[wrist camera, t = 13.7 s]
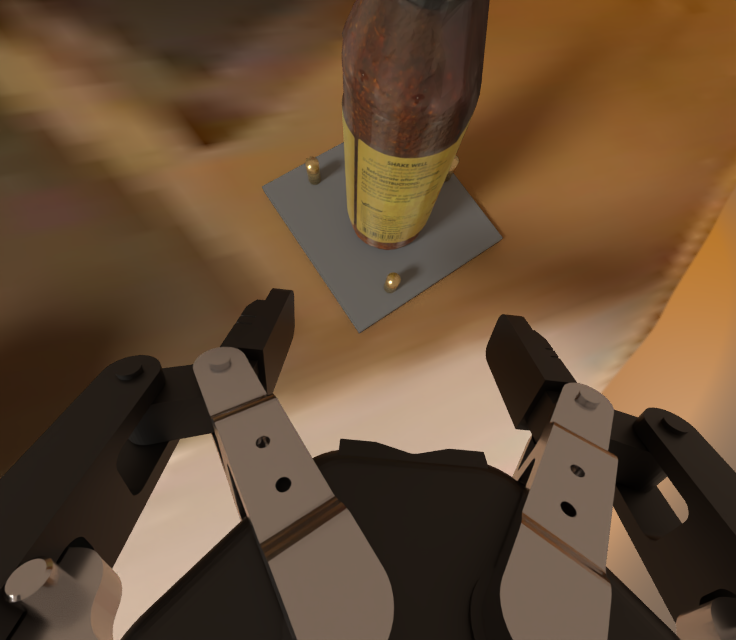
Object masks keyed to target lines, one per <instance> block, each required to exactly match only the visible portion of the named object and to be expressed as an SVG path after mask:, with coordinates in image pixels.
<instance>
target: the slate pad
mask: <svg viewBox="0 0 736 640" xmlns="http://www.w3.org/2000/svg"><path fill="white" fill-rule="evenodd" d="M316 158H317V159H318V161H319V168H320V176H321V181H320V183H319V184H317V185H312V184H311V183H310V182H309V180H308V175H307V170H306V165H305V163H304V164H303V165H301V166H299V167H297V168H295V169H293V170H292V171H290V172H288V173H286V174H284V175H282V176H281V177H279V178H277V179H275V180H273V181H271V182H270V183H268V184H266V185H264V186H262V188H263V190H264V192H265V194H266V195H267V197H268V198H269V200H270V201H271V203H272V204H273V206H274V207H275V209H276V210H277V212H278V213H279V214H280V216H281V217H282V219H283V220H284V222H285V223H286V225H287V226H288V228H289V229H290V231H291V232H292V234H293V235H294V237H295V238H296V240H297V241H298V243H299V244H300V246H301V247H302V249H303V250H304V252H305V253H306V255H307V256H308V258H309V259H310V261H311V262H312V264H313V265H314V267H315V268H316V270H317V271H318V273H319V274H320V276H321V277H322V279H323V280H324V282H325V283H326V284H327V286H328V287H329V289H330V290H331V292H332V293H333V295H334V296H335V298H336V299H337V301H338V302H339V304H340V305H341V307H342V308H343V310H344V311H345V313H346V314H347V316H348V317H349V319H350V320H351V322H352V323H353V325H354V326H355V328H356V329H357V331H358V332H359V333H361V332H362V331H364V330H365V329H367V328H368V327H370V326H371V325H373V324H374V323H376V322H377V321H379V320H380V319H382V318H384V317H385V316H387V315H388V314H390V313H391V312H393V311H394V310H396V309H397V308H399V307H400V306H402V305H403V304H405V303H406V302H408V301H409V300H411V299H412V298H414V297H415V296H417V295H418V294H420V293H421V292H423V291H424V290H426V289H428V288H429V287H431V286H432V285H434V284H435V283H437V282H438V281H440V280H441V279H443V278H444V277H446V276H447V275H449V274H450V273H452V272H453V271H455V270H456V269H458V268H459V267H461V266H462V265H464V264H465V263H467V262H469V261H470V260H472V259H473V258H475V257H476V256H478V255H479V254H481V253H482V252H484V251H485V250H487V249H488V248H490V247H491V246H493V245H494V244H496V243H497V242H499V241H500V240H501V239H502V238H503V237H502V236H501V235H500V234H499V232H498V231H497V230H496V228H495V227H494V226H493V224H492V223H491V222H490V220H489V219H488V218H487V217H486V215H485V214H484V213H483V211H482V210H481V209H480V207H479V206H478V205H477V203H476V202H475V201H474V200H473V198H472V197H471V196H470V194H469V193H468V192H467V190H466V189H465V188H464V186H463V185H462V184H461V183H460V181H459V180H458V179H457V177H456V176H455V175H454V173H453V174H452V176H451V178H450V180H449V181H447V182H444V183H443V185H442V188H441V190H440V192H439V195H438V197H437V200H436V202H435V204H434V207H433V209H432V212H431V214H430V216H429V218H428V220H427V222H426V224H425V226H424V227H423V228H422V230H421V231H420V232H419V234H418V236H417V237H416V238H415V239H414V240H413V241H412V242H411V243H409V244H407V245H406V246H404V247H401V248H397V249H393V250H383V249H379V248H376V247H373V246H370V245H368V244H366V243H365V242H363V241H362V240H361V239H360V238H359V237H358V236H357V234H356V233H355V230H354V229H353V227H352V224H351V221H350V218H349V215H348V210H347V195H346V176H345V155H344V142H343V143H341V144H339V145H338V146H336V147H334V148H332V149H330V150H328V151H327V152H325V153H323V154H321V155H319V156H317V157H316ZM393 272H394V273H397V274H399V276H400V278H401V281H400V283H399V285H398V287H397V289H396V291H395V292H393V293H387V292H386V291H385V290H384V283H385V281H386V278H387V276H388V275H389V274H390V273H393Z"/></svg>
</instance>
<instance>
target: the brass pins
mask: <svg viewBox="0 0 736 640" xmlns="http://www.w3.org/2000/svg"><path fill="white" fill-rule="evenodd" d="M458 163H459V158H458V157H457V156H456V155H455V157H454V160H453V162H452V165H451V167H450V169H449V172H448V174H447V176H446V179H445V181H444V182H447V181H449V180H450V178H451V176H452V174H453V172H454V170H455V168H456V166H457V165H458ZM305 165H306V170H307V175H308V180H309V182H310V183H311V184H312V185H317V184H319V183H320V181H321V176H320V168H319V161H318V159H317V158H315V157H309V158H307V159H306V161H305ZM400 281H401V278H400V276H399V274H397V273H394V272H393V273H390V274H389V275H388V276H387V278H386V281H385V283H384V290H385V291H386V292H387V293H393V292H395V291H396V289H397V287H398V285H399V283H400Z"/></svg>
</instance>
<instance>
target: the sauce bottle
mask: <svg viewBox="0 0 736 640" xmlns="http://www.w3.org/2000/svg"><path fill="white" fill-rule="evenodd" d="M488 10H489V0H356V2H355V3H354V5H353V7H352V10H351V12H350V14H349V16H348V19H347V21H346V23H345V26H344V29H343V32H342V35H343V47H342V67H343V90H344V93H343V98H342V117H343V135H344V155H345V176H346V195H347V210H348V215H349V218H350V221H351V224H352V227H353V229H354V230H355V233H356V234H357V236H358V237H359V238H360V239H361V240H362V241H363V242H365V243H366V244H368V245H370V246H373V247H376V248H379V249H383V250H393V249H397V248H401V247H404V246H406V245H407V244H409V243H411V242H412V241H413V240H414V239H415V238H416V237H417V236H418V234H419V232H420V231H421V230H422V228H423V227H424V226H425V224H426V222H427V220H428V218H429V216H430V214H431V212H432V209H433V207H434V204H435V202H436V200H437V197H438V195H439V192H440V190H441V188H442V185H443V183H444V181H445V179H446V176H447V174H448V172H449V169H450V167H451V165H452V162H453V160H454V157H455V155H456V153H457V151H458V148H459V146H460V143H461V141H462V139H463V136H464V134H465V132H466V130H467V128H468V125H469V122H470V120H471V117H472V115H473V112H474V110H475V107H476V105H477V101H478V98H479V95H480V89H481V82H482V71H483V61H484V50H485V40H486V30H487V21H488Z"/></svg>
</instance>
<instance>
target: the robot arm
mask: <svg viewBox="0 0 736 640" xmlns="http://www.w3.org/2000/svg"><path fill="white" fill-rule="evenodd" d="M294 327H295V319H294V293H293V291H292V290H285V289H276V288H273V289H272V290H271V291H270V293H269V295H268V296H267V298H266V300H256V301H254V302H252V303H251V304H249V305H248V306H246V308H245V310H244V311H243V313H242V314H241V316H240V317H239V319H238V320H237V322H236V324H235V325H234V326H233V328H232V329H231V331H230V332H229V334H228V335H227V337H226V338H225V340H224V341H223V343H222V344H221V346H220V347H219V348H214V349H211V350H209V351H206V352H205V353H203V354H201V355H200V356H199V357H198V358H197V359H196V360H195V362H194V364H192V365H186V366H178V367H170V368H162V367H161V364H160V362H159V361H158V360H157V359H156V358H154V357H151V356H146V355H138V356H131V357H127V358H124V359H121V360H118V361H116V362H114V363H112V364H111V365H109V366H108V367H106V368H105V369H104V370H103V371H102V372H101V373H100V374H99V375H98V376H97V377H96V378H95V379H94V380H93V381H92V382H91V384H90V385H89V386H88V387H87V388H86V389H85V390H84V391H83V392H82V393H81V394H80V395H79V396H78V397H77V398H76V399H75V400H74V402H73V403H72V404H71V405H70V406H69V407H68V408H67V409H66V410H65V411H64V412H63V413H62V414H61V415H60V416H59V417H58V418H57V420H56V421H55V422H54V423H53V424H52V425H51V426H50V427H49V428H48V429H47V430H46V431H45V432H44V433H43V434H42V435H41V436H40V438H39V439H38V440H37V441H36V442H35V443H34V444H33V445H32V446H31V447H30V448H29V449H28V450H27V451H26V452H25V453H24V454H23V456H22V457H21V458H20V459H19V460H18V461H17V462H16V463H15V464H14V465H13V466H12V467H11V468H10V469H9V470H8V471H7V472H6V474H5V475H4V476H3V477H2V478H1V479H0V640H113V624H114V619H115V616H116V613H117V610H118V607H119V604H120V601H121V596H122V584H121V580H120V578H119V576H118V575H117V574H116V573H115V572H114V570H113V569H112V568H113V566H114V564H115V562H116V560H117V558H118V556H119V555H120V553H121V551H122V549H123V547H124V545H125V543H126V541H127V539H128V537H129V535H130V534H131V532H132V530H133V528H134V526H135V524H136V522H137V520H138V518H139V516H140V514H141V512H142V511H143V509H144V507H145V505H146V503H147V501H148V499H149V497H150V495H151V493H152V491H153V490H154V488H155V486H156V484H157V482H158V480H159V478H160V476H161V474H162V472H163V470H164V469H165V467H166V465H167V463H168V461H169V459H170V457H171V455H172V453H173V451H174V449H175V447H176V446H177V444H178V442H179V440H180V439H182V438H188V437H193V436H198V435H204V434H209V433H211V435H212V438H213V441H214V443H215V446H216V449H217V452H218V455H219V458H220V460H221V463H222V466H223V469H224V472H225V475H226V477H227V480H228V483H229V486H230V490H231V493H232V496H233V499H234V502H235V505H236V508H237V511H238V514H239V517H240V520H241V522H240V523H239V524H238V525H237V526H236V527H234V528H233V529H232V530H231V531H230V532H229V533H228V534H227V535H226V536H225V537H224V538H223V539H222V540H221V541H220V542H219V543H218V544H216V545H215V546H214V547H213V548H212V549H211V550H210V551H209V552H208V553H207V554H206V555H205V556H204V557H203V558H202V559H201V560H200V561H198V562H197V563H196V564H195V565H194V566H193V567H192V568H191V569H190V570H189V571H188V572H187V573H186V574H185V575H184V576H183V577H182V578H180V579H179V580H178V581H177V582H176V583H175V584H174V585H173V586H172V587H171V588H170V589H169V590H168V591H167V592H166V593H165V594H164V595H163V596H161V597H160V598H159V599H158V600H157V601H156V602H155V603H154V604H153V605H152V606H151V607H150V608H149V609H148V610H147V611H146V612H145V613H144V614H143V615H141V616H140V617H139V619H138V620H137V621H136V622H135V623H134V624H133V625H132V626H131V627H130V629H129V630H128V631H127V632H126V633H125V635H124V636H123V637H122V638H121V640H736V473H735V472H734V470H733V469H732V468H731V467H730V466H729V465H728V464H727V463H726V462H725V461H724V459H723V458H722V457H721V456H720V455H719V454H718V453H717V452H716V451H715V450H714V449H713V447H712V446H711V445H710V444H709V443H708V442H707V441H706V440H705V439H704V438H703V437H702V435H701V434H700V433H699V432H698V431H697V430H696V429H695V428H694V427H693V426H691V425H690V424H689V423H688V422H686V421H685V420H683V419H682V418H680V417H679V416H677V415H675V414H673V413H671V412H668V411H666V410H663V409H659V408H647V409H646V410H645V411H644V412H643V413H642V414H641V415H640V416H639V417H635V416H632V415H629V414H626V413H622V412H620V411H616V410H614V409H613V406H612V404H611V403H610V401H609V400H608V399H607V398H606V397H605V396H604V395H602V394H601V393H600V392H598V391H597V390H595V389H593V388H591V387H589V386H586V385H583V384H580V383H577V382H576V380H575V379H574V378H573V376H572V375H571V373H570V372H569V371H568V369H567V368H566V366H565V365H564V364H563V362H562V361H561V359H559V358H558V355H557V354H556V353H555V351H553V348H552V347H551V346H550V344H549V343H548V341H547V340H546V339H545V338H544V337H542V336H541V335H540V334H539V333H537V332H536V331H535V330H532V328H531V327H530V325H529V324H528V322H527V321H526V320H525V318H524V317H522V316H514V315H505V314H502V315H501V316H500V317H499V318H498V320H497V323H496V325H495V328H494V330H493V332H492V335H491V337H490V340H489V342H488V344H487V348H486V360H487V363H488V365H489V367H490V370H491V372H492V374H493V377H494V379H495V382H496V384H497V386H498V389H499V391H500V393H501V396H502V398H503V400H504V403H505V405H506V407H507V410H508V412H509V415H510V417H511V419H512V422H513V424H514V426H515V429H520V430H530V431H531V433H532V435H531V437H530V438H529V440H528V442H527V444H526V446H525V449H524V451H523V453H522V456H521V458H520V460H519V463H518V465H517V467H516V470H515V472H514V474H513V477H511V476H509V475H508V474H506V473H504V472H503V471H501V470H499V469H497V468H495V467H492V466H490V465H487V461H486V458H485V455H484V452H478V451H467V450H456V449H445V450H439V451H432V452H426V453H420V454H411V453H408V452H405V451H401V450H398V449H395V448H392V447H389V446H386V445H383V444H380V443H377V442H370V441H360V440H349V439H340V446H339V450H336V451H331V452H327V453H324V454H321V455H319V456H316V457H314V458H312V457H311V455H310V453H309V452H308V450H307V448H306V447H305V445H304V443H303V441H302V440H301V438H300V436H299V435H298V433H297V431H296V430H295V428H294V426H293V424H292V423H291V421H290V419H289V418H288V416H287V414H286V413H285V411H284V409H283V407H282V406H281V404H280V402H279V401H278V399H277V398H276V396H275V395H274V394H273V391H274V388H275V385H276V383H277V380H278V377H279V375H280V372H281V369H282V366H283V364H284V361H285V358H286V356H287V353H288V350H289V348H290V345H291V342H292V339H293V335H294ZM667 476H668V478H669V479H670V481H671V482H672V483H673V485H674V486H675V488H676V489H677V490H678V492H679V493H680V494H681V496H682V497H683V499H684V500H685V501H686V504H687V506H688V510H689V515H688V519H687V520H686V521H685V522H684V523H681V521H680V520H679V518H678V517H677V516H676V514H675V513H674V511H673V510H672V508H671V507H670V505H669V504H668V502H667V501H666V499H665V498H664V496H663V495H662V493H661V492H660V490H659V489H658V488H657V486H656V485H658V484H659V483H660V482H661V481H662V480H664V479H665V478H666V477H667ZM613 507H614V508H615V510H616V512H617V514H618V516H619V518H620V520H621V522H622V524H623V525H624V527H625V529H626V531H627V532H628V535H629V537H630V538H631V541H632V542H633V544H634V546H635V548H636V550H637V552H638V554H639V556H640V557H641V559H642V561H643V563H644V565H645V567H646V569H647V571H648V572H649V574H650V576H651V578H652V580H653V582H654V584H655V586H656V587H657V589H658V591H659V593H660V595H661V597H662V599H663V601H664V602H665V604H666V606H667V608H668V610H669V612H670V614H671V615H672V617H673V619H674V621H675V623H676V632H677V635H676V634H675V633H674V632H673V631H671V629H670V628H669V627H668V626H667V625H666V624H664V622H662V621H661V619H659V618H658V617H657V616H656V615H655V614H654V613H653V612H652V611H651V610H650V609H649V608H648V607H647V606H646V605H645V604H644V603H643V602H642V601H641V600H640V599H639V598H638V597H637V596H636V595H635V594H634V593H633V592H632V591H631V590H630V589H629V588H628V587H627V586H626V585H625V584H624V583H622V581H621V580H619V579H618V578H617V577H616V576H615V575H614V574H613V573H612V572H611V571H610V570H609V569H608V568H607V567H606V559H607V551H608V541H609V533H610V525H611V516H612V508H613Z"/></svg>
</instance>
